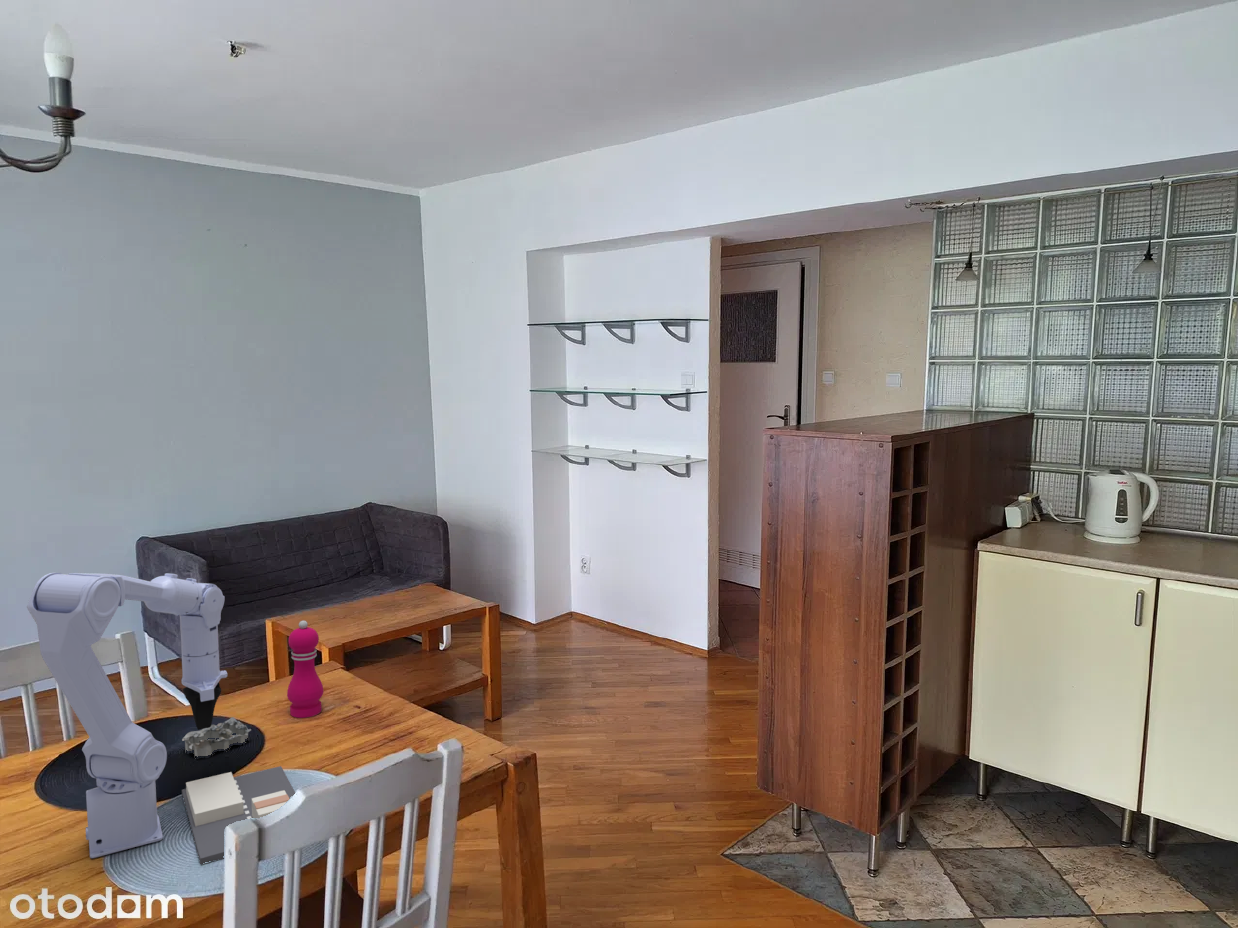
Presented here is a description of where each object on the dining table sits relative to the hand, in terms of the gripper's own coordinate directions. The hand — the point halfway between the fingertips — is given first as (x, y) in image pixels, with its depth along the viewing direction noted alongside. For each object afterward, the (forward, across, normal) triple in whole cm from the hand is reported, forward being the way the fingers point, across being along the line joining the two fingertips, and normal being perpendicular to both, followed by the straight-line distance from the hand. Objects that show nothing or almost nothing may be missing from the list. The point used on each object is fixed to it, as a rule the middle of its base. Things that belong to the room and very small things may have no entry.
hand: (203, 727), depth 144 cm
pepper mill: (+11, +23, -22) cm, 34 cm away
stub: (+9, -21, -7) cm, 24 cm away
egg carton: (+11, +15, -4) cm, 19 cm away
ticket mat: (+10, -14, -4) cm, 18 cm away
